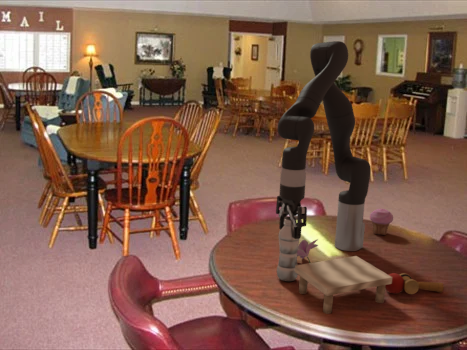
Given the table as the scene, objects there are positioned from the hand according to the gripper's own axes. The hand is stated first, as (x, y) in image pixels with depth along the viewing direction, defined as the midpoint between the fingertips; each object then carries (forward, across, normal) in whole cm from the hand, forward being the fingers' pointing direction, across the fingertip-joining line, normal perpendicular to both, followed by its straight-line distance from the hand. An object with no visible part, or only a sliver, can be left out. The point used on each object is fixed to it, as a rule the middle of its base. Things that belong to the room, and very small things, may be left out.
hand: (289, 233), depth 173 cm
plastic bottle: (+15, 0, 0) cm, 15 cm away
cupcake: (+15, +25, -56) cm, 63 cm away
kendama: (+15, -21, -32) cm, 41 cm away
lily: (+15, +9, -12) cm, 21 cm away
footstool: (+15, -16, -9) cm, 24 cm away
